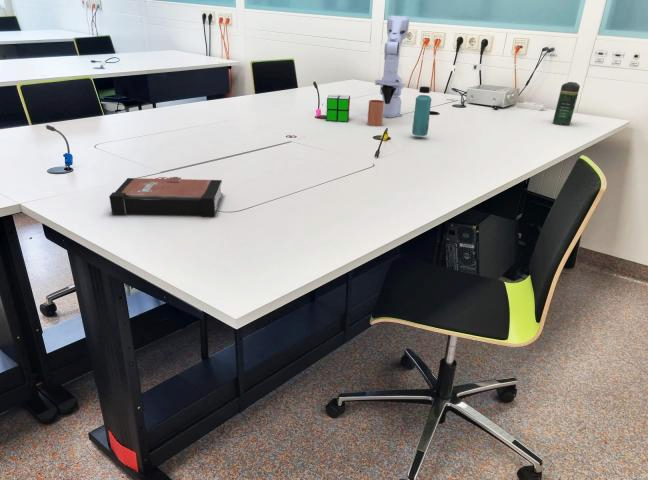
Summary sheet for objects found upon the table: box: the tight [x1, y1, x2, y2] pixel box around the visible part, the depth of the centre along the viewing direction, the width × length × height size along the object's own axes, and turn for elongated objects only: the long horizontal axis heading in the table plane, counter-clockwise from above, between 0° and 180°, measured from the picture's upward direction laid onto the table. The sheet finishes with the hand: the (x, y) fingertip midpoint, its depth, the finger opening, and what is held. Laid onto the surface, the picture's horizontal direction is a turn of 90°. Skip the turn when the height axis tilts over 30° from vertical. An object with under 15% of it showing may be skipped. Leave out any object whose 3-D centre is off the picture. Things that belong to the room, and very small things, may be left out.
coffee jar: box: [552, 81, 581, 126], centre depth 256 cm, size 10×8×19 cm
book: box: [108, 176, 224, 218], centre depth 146 cm, size 26×18×5 cm
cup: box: [366, 99, 384, 127], centre depth 243 cm, size 7×7×10 cm
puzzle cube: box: [325, 94, 351, 123], centre depth 250 cm, size 10×10×10 cm
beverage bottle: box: [411, 85, 432, 137], centre depth 220 cm, size 6×7×20 cm
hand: (387, 103), depth 246 cm, fingers closed
